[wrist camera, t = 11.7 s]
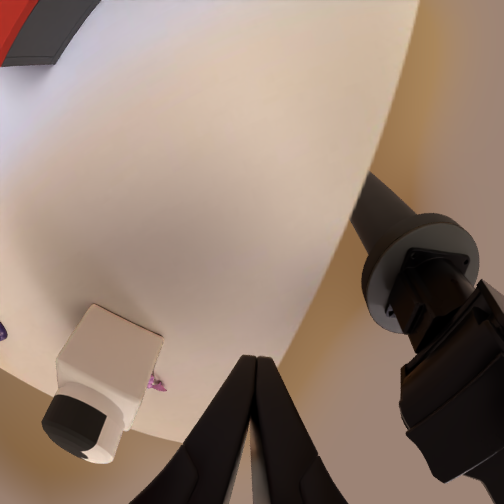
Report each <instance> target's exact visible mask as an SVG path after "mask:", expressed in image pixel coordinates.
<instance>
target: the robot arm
mask: <svg viewBox="0 0 504 504" xmlns="http://www.w3.org/2000/svg"><path fill="white" fill-rule="evenodd" d="M412 253H415V254H414V255H413V256H411V255H412ZM465 260H466V261H465ZM464 261H465V262H464ZM470 261H471V260H470V257H469V256H468V255H466V254H460V253H453V252H446V251H439V250H432V249H425V248H418V247H411V248H409V249H408V250H407V252H406V255H405V258H404V261H403V264H402V267H401V270H400V272H399V273H398V274H397V277H396V280H395V282H394V285H393V288H392V290H391V293H390V295H389V298H388V300H389V301H388V303H387V306H386V308H385V314H386V316H387V317H390V318H397V320H398V323H399V325H400V327H401V330H402V332H403V334H406V335H408V337H409V339H410V341H411V344H412V346H413V349H414V351H415V353H416V354H417V355H416V356H415V357H414V358H413V359H412V360H411V361H410V362H409V363H408V364H405V365H404V366H403V367H402V368H401V399H400V401H399V408H400V412H401V418H402V420H403V422H404V425H405V426H406V428H407V429H408V431H407V432H406V436H407V437H408V438H409V439H410V440H411V441H412V442H414V443H415V444H416V446H417V447H418V448H419V450H420V451H421V452H422V454H423V456H424V458H425V459H426V461H427V463H428V466H429V468H430V470H431V473H432V475H433V476H434V477H435V478H437V479H438V480H440V481H441V482H443V483H448V482H450V481H452V480H454V479H455V478H457V477H459V476H461V475H464V476H467V477H470V478H473V479H476V480H479V481H481V483H482V484H483V485H484V487H485V488H486V490H487V492H488V494H489V496H490V497H491V499H492V501H493V503H494V504H504V296H503V295H502V294H501V293H499V292H498V291H497V290H496V289H494V288H493V287H492V286H491V285H489V284H488V283H487V282H485V281H484V280H483V279H481V280H480V281H479V283H478V284H477V287H476V289H475V288H474V287H473V285H472V284H471V283H470V282H469V280H468V279H467V278H466V277H465V273H466V271H467V269H468V266H469V264H470ZM390 311H391V312H390ZM249 422H250V447H251V448H250V449H251V470H252V491H253V504H348V503H347V501H346V500H345V498H344V497H343V496H342V494H341V493H340V491H339V490H338V488H337V487H336V485H335V484H334V482H333V480H332V479H331V477H330V475H329V473H328V471H327V470H326V468H325V466H324V464H323V462H322V460H321V458H320V456H318V452H317V450H316V448H315V446H314V444H313V442H312V440H311V438H310V436H309V434H308V432H307V430H306V428H305V426H304V424H303V422H302V420H301V418H300V416H299V414H298V412H297V409H296V407H295V406H294V403H293V401H292V399H291V397H290V395H289V393H288V391H287V389H286V386H285V384H284V382H283V380H282V378H281V376H280V374H279V372H278V370H277V367H276V365H275V363H274V361H273V359H272V358H271V357H264V356H258V357H257V358H256V356H253V355H242V356H241V357H240V359H239V360H238V362H237V363H236V365H235V366H234V368H233V370H232V371H231V373H230V374H229V376H228V377H227V379H226V380H225V382H224V383H223V385H222V386H221V388H220V389H219V391H218V392H217V394H216V395H215V397H214V398H213V400H212V401H211V403H210V404H209V406H208V407H207V409H206V410H205V412H204V413H203V415H202V416H201V418H200V419H199V421H198V422H197V424H196V425H195V426H194V428H193V429H192V431H191V432H190V434H189V435H188V437H187V438H186V439H185V441H184V442H183V445H181V446H180V448H179V449H178V450H177V452H176V453H175V455H174V456H173V457H172V459H171V460H170V461H169V462H168V464H167V465H166V466H165V467H164V469H163V470H162V471H161V472H160V473H159V474H158V475H157V476H156V477H155V479H154V480H153V481H152V482H151V483H150V484H149V485H148V486H147V487H146V488H145V489H144V490H143V491H142V492H141V493H140V494H138V495H137V496H136V497H135V498H134V499H133V500H132V501H131V502H130V503H129V504H229V501H230V497H231V494H232V490H233V486H234V482H235V479H236V475H237V471H238V467H239V464H240V460H241V456H242V452H243V448H244V444H245V440H246V436H247V432H248V427H249Z"/></svg>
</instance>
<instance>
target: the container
mask: <svg viewBox="0 0 504 504" xmlns="http://www.w3.org/2000/svg"><path fill="white" fill-rule="evenodd" d="M163 342H164V339H163V337H161V336H159V335H157V334H155V333H153V332H150V331H148V330H146V329H144V328H142V327H140V326H138V325H135V324H133V323H131V322H129V321H127V320H125V319H123V318H121V317H119V316H117V315H115V314H113V313H111V312H109V311H107V310H105V309H103V308H102V307H100V306H98V305H96V304H92V305H91V306H90V308H89V309H88V310H87V312H86V313H85V315H84V316H83V318H82V319H81V321H80V322H79V324H78V325H77V327H76V328H75V330H74V331H73V333H72V334H71V336H70V337H69V339H68V340H67V342H66V344H65V345H64V347H63V348H62V350H61V351H60V353H59V355H58V356H57V358H56V361H55V362H56V373H57V382H58V390H57V392H56V394H55V396H54V398H53V400H52V402H51V404H50V406H49V408H48V410H47V412H46V414H45V416H44V418H43V420H42V427H43V429H44V431H45V432H46V433H47V434H48V436H49V438H50V439H51V440H52V441H53V442H55V443H56V444H57V445H58V446H60V447H61V448H63V449H64V450H66V451H68V452H69V453H71V454H73V455H75V456H77V457H79V458H81V459H84V460H86V461H89V462H92V463H102V464H103V463H104V464H107V463H109V462H111V461H113V458H114V456H115V452H116V450H117V447H118V444H119V441H120V438H121V435H122V432H123V430H124V431H129V430H130V428H131V426H132V423H133V421H134V419H135V416H136V414H137V412H138V409H139V407H140V405H141V402H142V400H143V397H144V394H145V391H146V388H147V386H148V383H149V380H150V377H151V374H152V372H153V369H154V366H155V364H156V361H157V358H158V356H159V353H160V350H161V348H162V345H163Z"/></svg>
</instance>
